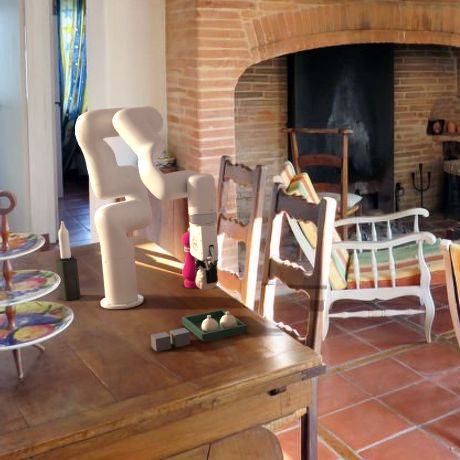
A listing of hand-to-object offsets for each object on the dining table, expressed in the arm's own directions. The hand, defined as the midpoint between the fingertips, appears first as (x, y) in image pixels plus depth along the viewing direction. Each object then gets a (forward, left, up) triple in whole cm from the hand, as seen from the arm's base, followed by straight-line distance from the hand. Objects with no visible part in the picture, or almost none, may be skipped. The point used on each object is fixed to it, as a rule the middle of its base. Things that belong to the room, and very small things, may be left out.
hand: (206, 279), depth 227 cm
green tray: (+3, 0, -14) cm, 15 cm away
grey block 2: (+9, -12, -14) cm, 21 cm away
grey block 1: (+9, -17, -14) cm, 24 cm away
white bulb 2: (+7, +3, -14) cm, 16 cm away
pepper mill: (-40, +10, -14) cm, 44 cm away
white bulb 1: (+7, -3, -14) cm, 16 cm away
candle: (-50, -27, -14) cm, 58 cm away
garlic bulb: (0, 0, -3) cm, 3 cm away
